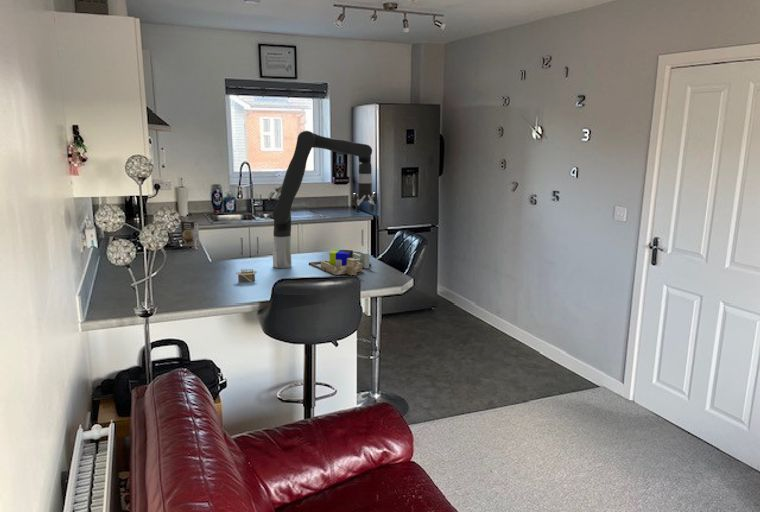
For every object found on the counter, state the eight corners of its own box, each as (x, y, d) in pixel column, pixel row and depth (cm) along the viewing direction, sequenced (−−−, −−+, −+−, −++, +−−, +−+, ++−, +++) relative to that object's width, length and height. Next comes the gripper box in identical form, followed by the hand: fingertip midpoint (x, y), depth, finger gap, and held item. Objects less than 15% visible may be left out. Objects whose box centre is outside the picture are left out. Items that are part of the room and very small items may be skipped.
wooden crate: (267, 284, 273) (266, 271, 272) (228, 286, 268) (228, 273, 266) (264, 278, 284) (263, 265, 283) (227, 280, 279) (226, 268, 277)
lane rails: (323, 271, 298) (323, 269, 298) (308, 264, 314) (308, 262, 314) (371, 265, 313) (371, 263, 313) (354, 259, 329) (354, 257, 329)
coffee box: (181, 246, 362) (180, 221, 358) (186, 244, 368) (185, 219, 365) (195, 246, 360) (193, 221, 357) (199, 244, 367) (198, 220, 363)
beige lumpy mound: (340, 277, 285) (340, 261, 284) (320, 268, 305) (320, 253, 303) (367, 273, 294) (367, 258, 292) (346, 265, 313) (346, 250, 311)
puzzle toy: (347, 272, 296) (347, 253, 294) (329, 271, 298) (329, 252, 296) (352, 268, 305) (352, 250, 303) (334, 267, 307) (334, 249, 305)
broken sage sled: (359, 268, 304) (359, 254, 302) (340, 261, 322) (340, 247, 321) (373, 267, 309) (374, 252, 307) (354, 259, 327) (354, 246, 325)
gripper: (356, 183, 296) (356, 213, 299) (379, 182, 303) (379, 212, 307) (349, 182, 302) (349, 212, 306) (372, 181, 310) (372, 210, 313)
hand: (364, 212), depth 306 cm, fingers open, 8 cm apart
